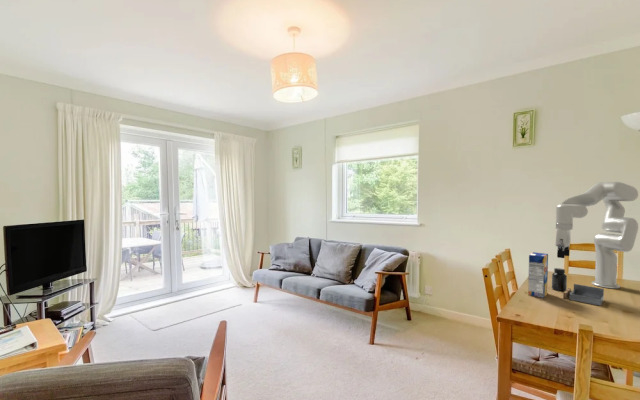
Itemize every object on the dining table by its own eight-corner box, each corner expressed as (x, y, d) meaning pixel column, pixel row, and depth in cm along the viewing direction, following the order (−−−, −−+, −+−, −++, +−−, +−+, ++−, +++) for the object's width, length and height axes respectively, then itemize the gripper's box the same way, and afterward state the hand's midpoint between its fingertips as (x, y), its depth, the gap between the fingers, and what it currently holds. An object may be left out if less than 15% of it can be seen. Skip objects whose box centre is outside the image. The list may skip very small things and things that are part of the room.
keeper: (573, 294, 171) (574, 283, 171) (603, 300, 162) (603, 288, 162) (569, 299, 163) (569, 288, 163) (600, 305, 154) (600, 293, 154)
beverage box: (528, 295, 170) (529, 254, 170) (532, 290, 178) (533, 252, 178) (543, 298, 166) (544, 256, 165) (547, 293, 173) (548, 253, 173)
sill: (568, 293, 173) (568, 288, 173) (570, 294, 172) (570, 288, 172) (563, 298, 165) (563, 292, 165) (566, 298, 164) (566, 293, 164)
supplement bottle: (569, 291, 176) (569, 270, 176) (555, 291, 178) (556, 270, 177) (562, 288, 183) (562, 267, 183) (549, 287, 184) (549, 267, 184)
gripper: (560, 225, 185) (559, 254, 186) (551, 226, 174) (550, 257, 175) (576, 226, 179) (575, 256, 180) (568, 228, 168) (567, 259, 169)
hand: (563, 256), depth 177 cm, fingers open, 9 cm apart
